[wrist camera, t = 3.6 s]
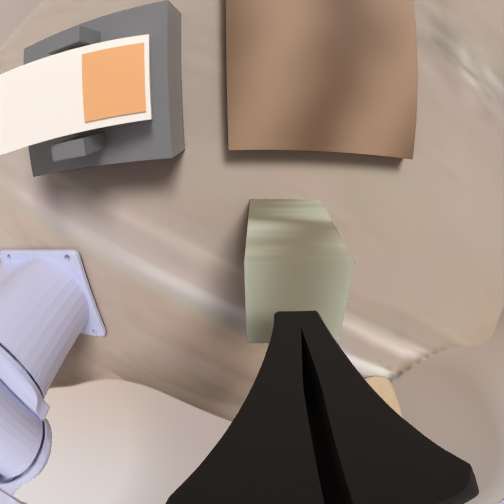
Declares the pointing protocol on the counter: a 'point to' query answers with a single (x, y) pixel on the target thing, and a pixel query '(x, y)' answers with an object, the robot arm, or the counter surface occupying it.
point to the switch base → (128, 134)
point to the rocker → (76, 92)
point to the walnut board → (322, 76)
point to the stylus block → (293, 265)
